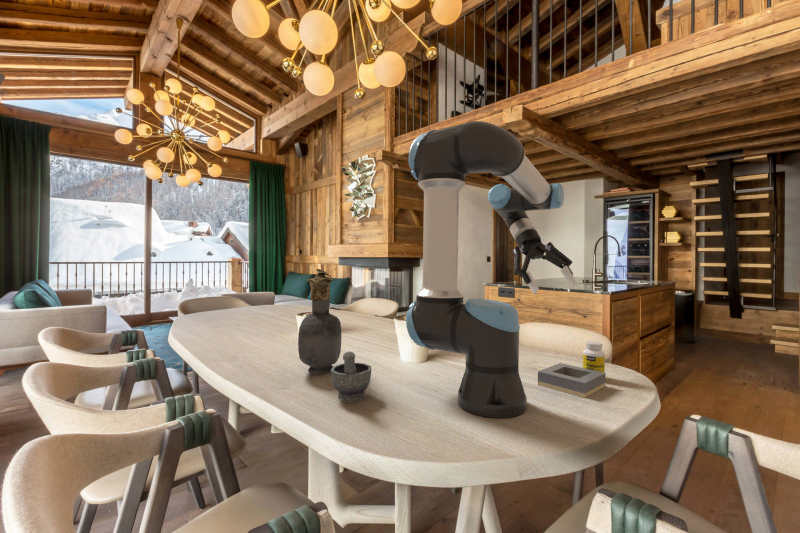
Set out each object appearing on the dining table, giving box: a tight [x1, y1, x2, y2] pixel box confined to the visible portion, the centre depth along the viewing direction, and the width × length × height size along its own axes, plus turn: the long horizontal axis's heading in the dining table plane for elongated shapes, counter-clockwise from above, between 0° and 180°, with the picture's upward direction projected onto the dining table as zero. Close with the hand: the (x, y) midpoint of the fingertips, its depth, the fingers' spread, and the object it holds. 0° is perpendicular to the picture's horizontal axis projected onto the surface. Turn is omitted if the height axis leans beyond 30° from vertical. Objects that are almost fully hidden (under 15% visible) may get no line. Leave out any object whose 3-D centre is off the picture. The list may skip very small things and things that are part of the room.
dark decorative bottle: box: [297, 268, 342, 376], centre depth 112 cm, size 11×19×30 cm, turn 0°
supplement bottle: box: [582, 340, 606, 373], centre depth 104 cm, size 5×5×10 cm
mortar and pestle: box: [330, 351, 372, 403], centre depth 89 cm, size 11×9×12 cm
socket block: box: [537, 362, 607, 399], centre depth 97 cm, size 12×12×4 cm
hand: (555, 288), depth 115 cm, fingers open, 13 cm apart
